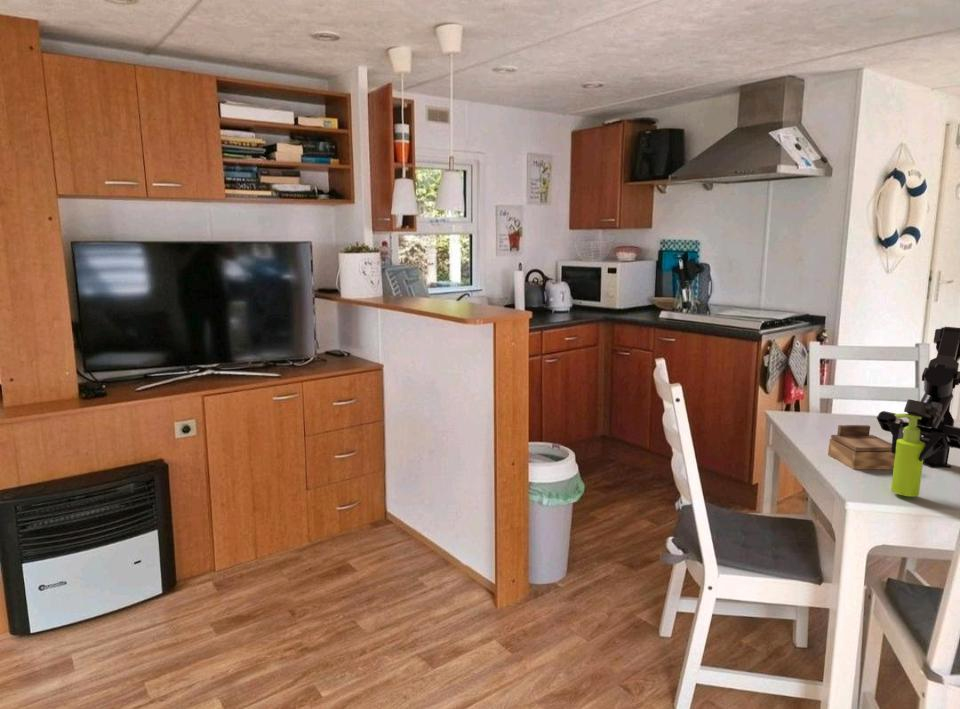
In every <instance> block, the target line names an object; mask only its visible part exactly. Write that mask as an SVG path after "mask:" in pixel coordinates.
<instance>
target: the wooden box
mask: <svg viewBox="0 0 960 709" xmlns="http://www.w3.org/2000/svg"><path fill="white" fill-rule="evenodd" d="M827 456H829V457H831V458H832V459H834V460H836V461H838V462H840V463H841V464H843V465H845V466H847V467H849V468H850V469H852V470H893V469H894V460H895V453H894V454H892V451H855V450H853V449H851V448H849V447H847V446H845V445H843V444H841V443H840V442H838V441H836V440H834V439H832V438H830V439H829V442H828V450H827Z"/></svg>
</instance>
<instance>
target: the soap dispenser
mask: <svg viewBox="0 0 960 709" xmlns="http://www.w3.org/2000/svg"><path fill="white" fill-rule="evenodd" d="M895 416H896V417H897V418H900V419H901V418H906V419H908V418H909V419H908V422H909V426H907V427H904V430H903V433H904V434H903V439H897V442H896V451H895V460H894V469H892V478H891V489H890V490H891V492H892V493H895V494H897V495H900V496H904V497H918V496H919V495H920V489H921V481H922V472H923V466H924V464H923V461H919V457H920V454H921V452H922V451H923V449H924V448H925V443H923V442H921V441H919V439H920V431H921V430H920V429H919V428H918V427H917V421H918V419H921V416H920V415H914V414H908V413H895Z"/></svg>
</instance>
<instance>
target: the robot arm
mask: <svg viewBox="0 0 960 709" xmlns="http://www.w3.org/2000/svg"><path fill="white" fill-rule="evenodd" d="M933 343H934V344H935V349H936V352H937V354H936V357H934V358H931V359H930V360H929V362H928V366H927V367H926V366H925V367H924V370H923V371H922V375H921V382H923V384H924V385H923V391H924V394H923V396H922V398H921V400H919V401H918V400H915V399H907V401H906V403H905V407H904V410H903V412H904V413H906V414H914V415H920V416H921V419H918V421H917V427H918V428H919V429H920V430H921V431H920V439H919V441H921V442H923V443H925V448H924V449H923V451H922V452H921V454H920V457H919V461H923V465H925V466H928V467H930V468H952V464H950V463H948V461H949V455H950V451H951V450H950V449H951V448H952V449H959V450H960V427H957V426H955V420H954V418H953V416H952V414H951V412H950V410H951V405H952V400H953V398H954V394H953V392H954V389H955V388H956V386H959V385H960V371H959V365H960V364H959V361H960V327H953V326H944V327H943V326H942V327H941V328H935V330H934V335H933ZM895 414H896V413H895V412H890V411H885V410H883V411H880V412H878V414H877V417H876V420H877V422H878V423H879V426H880V428H881V430H882V431H885V432H889V433H891V435H892V437H891V438H892V440H891V444H892V450H891V451H892V454H894V453H895V451H896V442H897V439H903V434H904V427H907V426H909V421H907V420H904V419H901V418H897V417H896V416H895ZM907 419H908V420H909V418H907Z"/></svg>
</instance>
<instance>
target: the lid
mask: <svg viewBox="0 0 960 709" xmlns="http://www.w3.org/2000/svg"><path fill="white" fill-rule="evenodd" d="M870 430H871V426H870V425H869V424H839V425H838V426H837V434H831V435H830V439H834V440H836V441H838V442H840V443H841V444H843V445H845V446H847V447H849V448H851V449H853V450H855V451H891V450H892V442H889V441H887V440H885V439H882V438H881V437H878V436H876V435H874V434H870V432H871V431H870Z"/></svg>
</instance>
